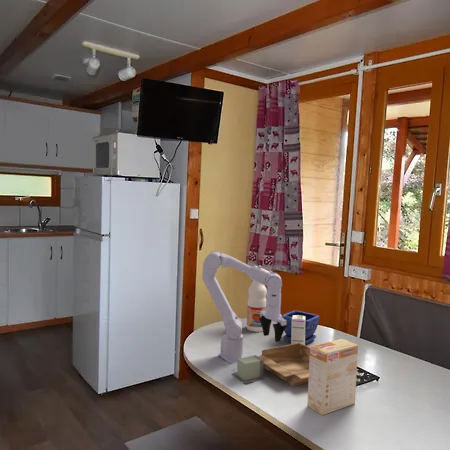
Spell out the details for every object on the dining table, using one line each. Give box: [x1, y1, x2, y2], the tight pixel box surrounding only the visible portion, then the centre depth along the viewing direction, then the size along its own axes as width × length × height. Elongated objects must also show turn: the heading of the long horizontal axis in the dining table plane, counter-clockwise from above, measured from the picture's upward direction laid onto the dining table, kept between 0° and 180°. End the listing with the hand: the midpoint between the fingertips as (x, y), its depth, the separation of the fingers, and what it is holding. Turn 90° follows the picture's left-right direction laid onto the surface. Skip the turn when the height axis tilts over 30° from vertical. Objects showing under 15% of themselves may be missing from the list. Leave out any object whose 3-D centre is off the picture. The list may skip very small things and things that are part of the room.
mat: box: [231, 371, 267, 385], centre depth 153 cm, size 9×9×1 cm
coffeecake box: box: [307, 338, 359, 416], centre depth 133 cm, size 15×7×20 cm, turn 123°
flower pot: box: [282, 310, 320, 345], centre depth 193 cm, size 13×13×12 cm
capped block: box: [236, 355, 264, 380], centre depth 153 cm, size 5×8×6 cm, turn 121°
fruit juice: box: [246, 280, 268, 333], centre depth 207 cm, size 9×9×28 cm
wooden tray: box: [257, 343, 310, 387], centre depth 156 cm, size 23×23×6 cm
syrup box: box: [290, 315, 306, 345], centre depth 181 cm, size 6×6×14 cm
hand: (271, 338), depth 167 cm, fingers open, 7 cm apart
